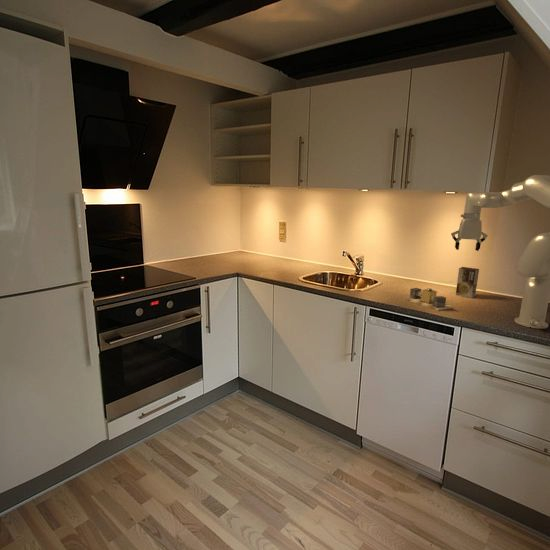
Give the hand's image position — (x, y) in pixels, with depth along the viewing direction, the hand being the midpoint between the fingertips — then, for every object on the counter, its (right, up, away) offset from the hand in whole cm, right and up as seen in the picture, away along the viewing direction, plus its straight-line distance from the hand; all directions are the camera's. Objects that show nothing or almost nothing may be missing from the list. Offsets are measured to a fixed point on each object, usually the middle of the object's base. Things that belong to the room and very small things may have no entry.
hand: (467, 250), depth 192 cm
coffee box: (+9, -25, +19) cm, 33 cm away
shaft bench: (-20, -28, +1) cm, 35 cm away
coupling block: (-20, -27, +1) cm, 34 cm away
